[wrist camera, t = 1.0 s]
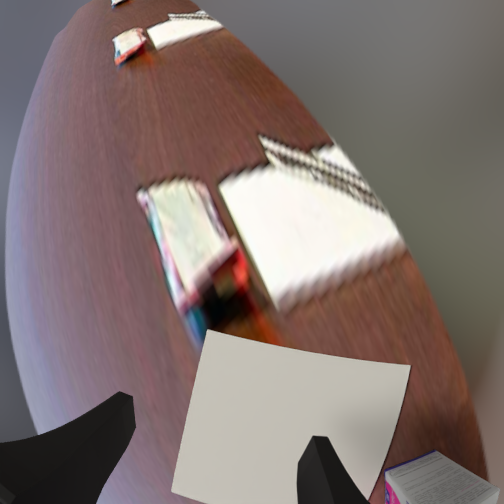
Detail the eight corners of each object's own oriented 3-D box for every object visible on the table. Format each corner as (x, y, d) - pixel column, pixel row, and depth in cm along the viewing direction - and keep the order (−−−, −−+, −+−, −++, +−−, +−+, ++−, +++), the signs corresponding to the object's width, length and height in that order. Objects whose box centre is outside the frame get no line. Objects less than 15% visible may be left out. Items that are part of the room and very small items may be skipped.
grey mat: (356, 521, 16) (356, 522, 16) (172, 490, 19) (171, 491, 18) (409, 365, 21) (410, 365, 20) (208, 329, 23) (207, 329, 23)
